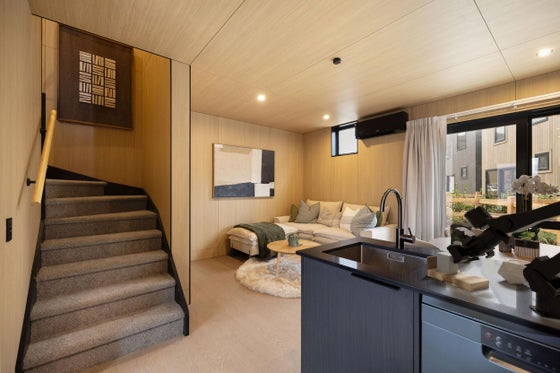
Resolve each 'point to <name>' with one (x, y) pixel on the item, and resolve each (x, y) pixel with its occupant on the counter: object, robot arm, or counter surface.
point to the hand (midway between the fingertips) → (454, 262)
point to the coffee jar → (454, 226)
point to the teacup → (519, 262)
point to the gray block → (446, 263)
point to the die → (512, 272)
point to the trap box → (455, 277)
